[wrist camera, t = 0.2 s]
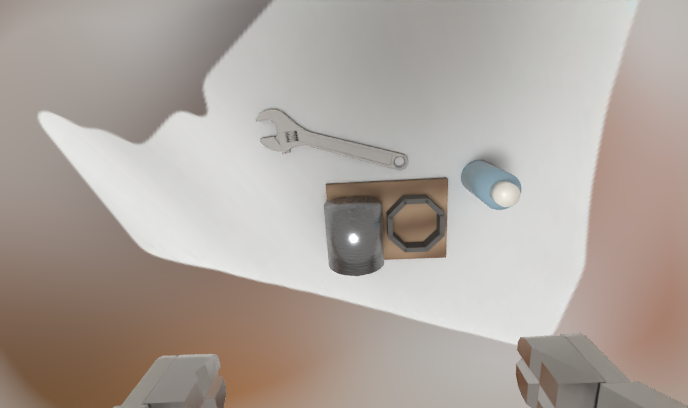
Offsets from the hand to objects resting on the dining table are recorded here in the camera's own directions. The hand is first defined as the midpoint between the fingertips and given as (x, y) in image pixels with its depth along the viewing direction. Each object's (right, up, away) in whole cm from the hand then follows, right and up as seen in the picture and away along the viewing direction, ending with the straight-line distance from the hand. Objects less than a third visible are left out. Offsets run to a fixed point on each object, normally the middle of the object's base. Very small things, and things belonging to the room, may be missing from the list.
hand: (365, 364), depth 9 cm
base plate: (+7, +2, +49) cm, 50 cm away
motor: (+1, 0, +49) cm, 49 cm away
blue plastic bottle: (+21, +9, +46) cm, 52 cm away
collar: (+11, +2, +49) cm, 50 cm away
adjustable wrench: (-3, +14, +47) cm, 49 cm away
